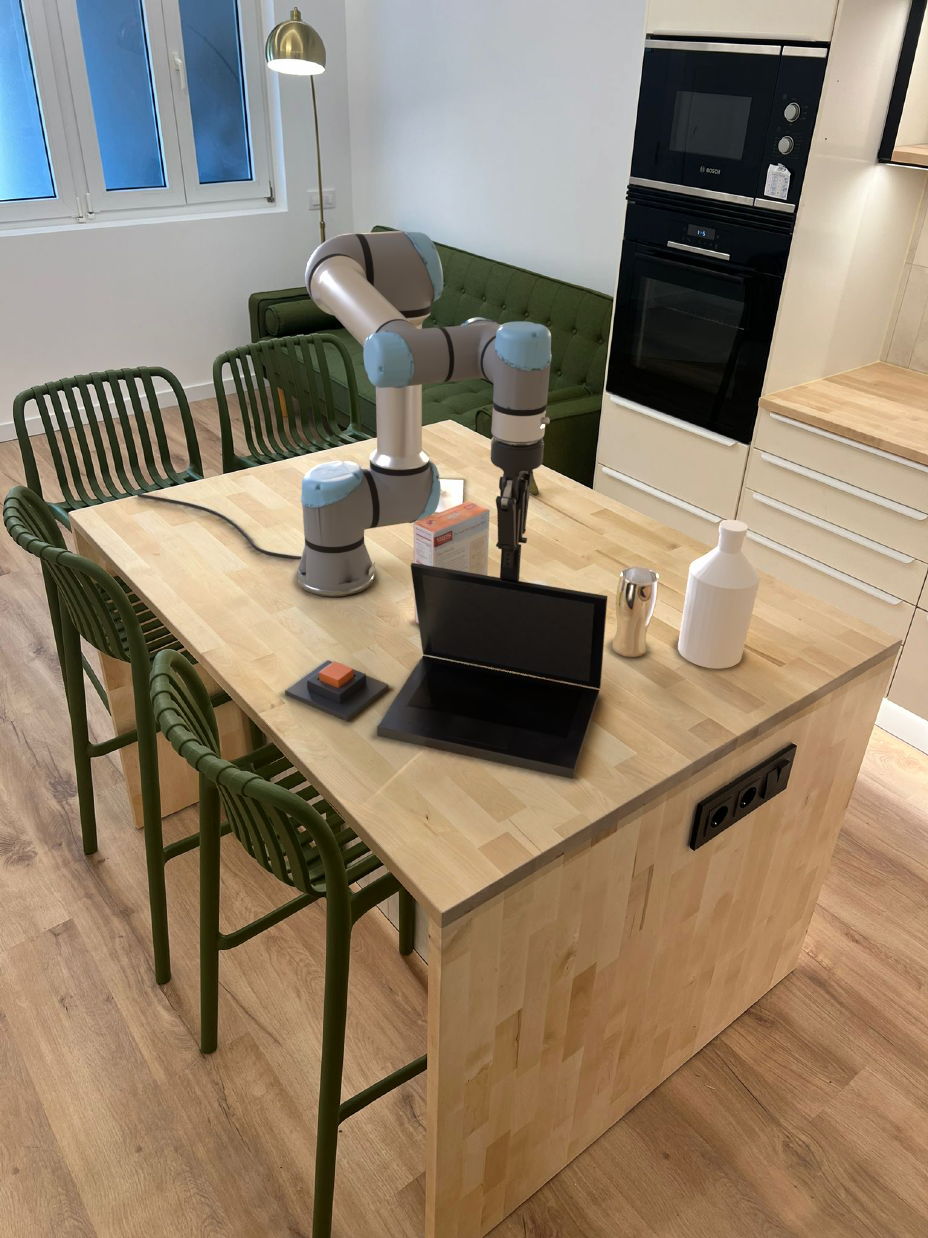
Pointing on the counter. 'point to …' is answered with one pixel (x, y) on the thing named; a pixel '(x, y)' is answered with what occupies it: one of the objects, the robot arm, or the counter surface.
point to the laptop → (492, 715)
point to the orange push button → (337, 693)
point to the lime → (533, 487)
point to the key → (336, 674)
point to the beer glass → (634, 609)
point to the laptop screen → (511, 624)
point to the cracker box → (454, 540)
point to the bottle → (719, 602)
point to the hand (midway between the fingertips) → (509, 582)
